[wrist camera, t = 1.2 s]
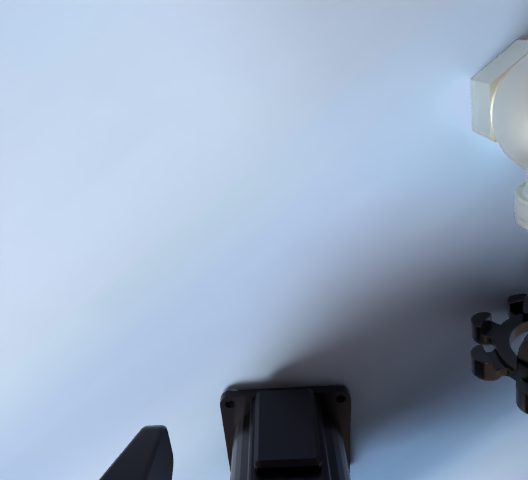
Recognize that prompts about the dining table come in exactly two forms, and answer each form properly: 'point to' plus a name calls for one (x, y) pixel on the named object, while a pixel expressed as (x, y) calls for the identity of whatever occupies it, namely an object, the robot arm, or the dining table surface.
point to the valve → (524, 155)
